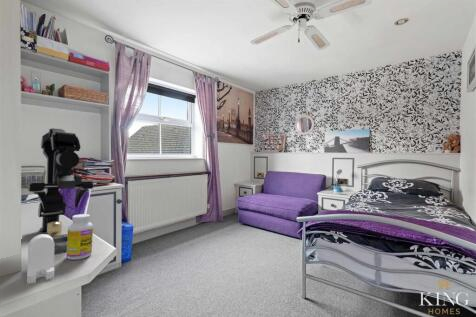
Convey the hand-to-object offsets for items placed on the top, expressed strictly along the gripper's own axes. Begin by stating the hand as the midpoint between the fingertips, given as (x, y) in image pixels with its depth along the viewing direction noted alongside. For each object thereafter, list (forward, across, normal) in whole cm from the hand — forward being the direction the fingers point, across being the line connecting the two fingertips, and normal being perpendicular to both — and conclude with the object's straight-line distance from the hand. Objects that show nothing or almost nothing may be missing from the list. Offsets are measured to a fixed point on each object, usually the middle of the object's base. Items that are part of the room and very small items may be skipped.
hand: (61, 208), depth 87 cm
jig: (+12, -1, -5) cm, 13 cm away
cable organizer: (+12, -8, -26) cm, 30 cm away
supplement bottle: (+12, +2, -20) cm, 23 cm away
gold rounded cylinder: (+12, -1, +6) cm, 14 cm away
